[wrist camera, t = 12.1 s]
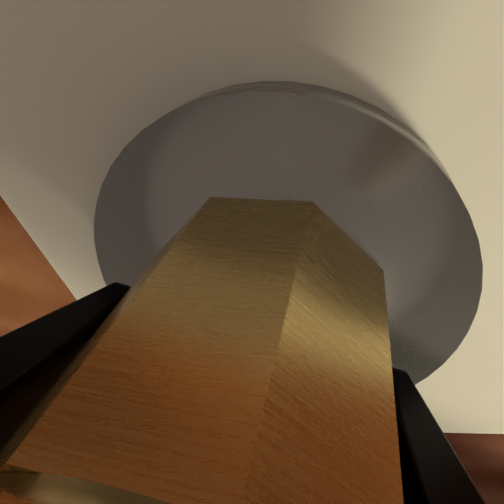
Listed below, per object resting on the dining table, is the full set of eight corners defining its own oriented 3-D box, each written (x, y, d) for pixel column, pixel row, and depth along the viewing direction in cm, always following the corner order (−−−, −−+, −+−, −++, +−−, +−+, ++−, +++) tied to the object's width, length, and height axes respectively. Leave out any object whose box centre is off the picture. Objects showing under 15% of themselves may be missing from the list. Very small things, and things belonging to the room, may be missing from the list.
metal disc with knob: (480, 375, 11) (576, 676, 6) (198, 383, 15) (117, 574, 10) (451, 0, 7) (742, 4, 2) (54, 150, 10) (-231, 289, 5)
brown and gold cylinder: (255, 139, 7) (-40, 535, 2) (434, 315, 9) (562, 848, 3) (126, 281, 11) (-122, 578, 5) (271, 393, 12) (195, 727, 6)
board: (583, 412, 12) (595, 436, 11) (176, 411, 18) (169, 426, 17) (725, -689, 4) (801, -831, 3) (-117, -8, 10) (-150, -8, 9)
